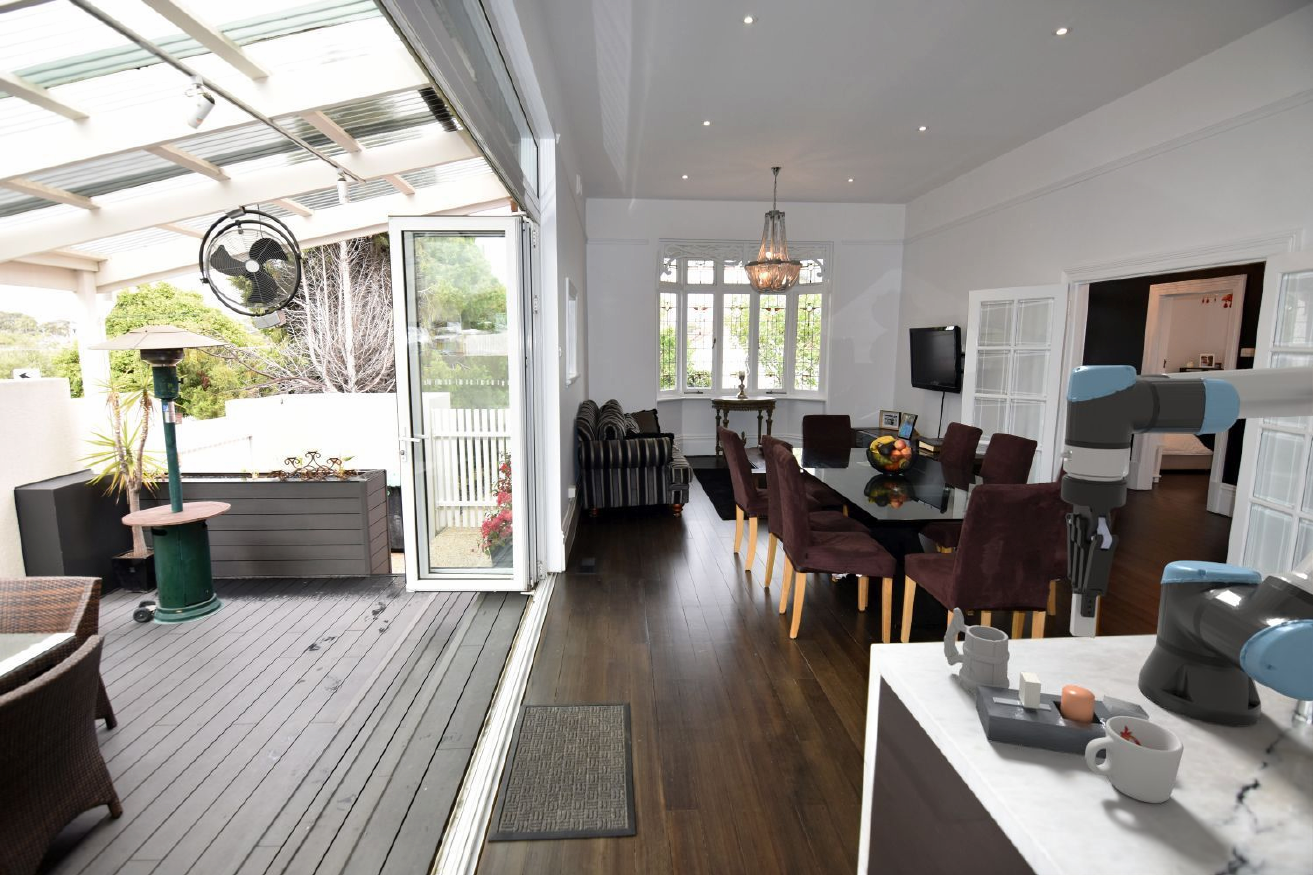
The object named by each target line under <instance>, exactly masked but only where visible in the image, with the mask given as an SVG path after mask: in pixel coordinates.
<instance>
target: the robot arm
mask: <svg viewBox="0 0 1313 875" xmlns="http://www.w3.org/2000/svg"><path fill="white" fill-rule="evenodd" d="M1069 375H1070V376H1069V381H1068V386H1067V395H1066V396H1065V399H1066V417H1065V418H1066V420H1065V433H1064V434H1065V436H1064V437H1065V438H1064V450H1063V451H1060V452H1059V457H1060V458H1062V459H1063V464H1062V466H1063V467H1062V468H1063V471H1065V472H1066V474H1064V475H1062V476H1061V477H1062V478H1061V488H1060V498H1061V500H1062V501H1064V502H1066V503H1068V504H1071V505H1073V509H1072V511H1073V512H1071V513H1070V512H1066V514H1065V521H1066V522H1065V523H1066V529H1067V530H1066V531H1067V532H1066V533H1067V539H1066V540H1067V546H1066V547H1067V578H1068V580H1071V591H1072V592H1071V593H1072V595H1071V596H1072V598H1071V613H1070V623H1069V625H1070V626H1069V632H1070V633H1071V636H1074V637H1080V638H1082V637H1083V638H1091V639H1095V638H1096V630H1097V628H1096V627H1097V618H1098V617H1097V616H1098V603H1099V597H1106V595H1107V591H1108V586H1109V579H1110V575H1111V569H1112V566H1113V565H1112V564H1113V561H1114V554H1115V550H1117V549H1116V548H1117V547H1118V544H1119V542H1120V541H1119V536H1118V535H1117V534H1111V532H1112V530H1113V521H1112V519H1111V513H1110V511H1111V510H1112V509H1114V508H1116V509H1118V508H1120V507H1123V506H1124V505H1125V504H1126V503H1127V488H1128V482H1127V480H1126V479H1125V478H1124V477H1126V476H1128V475H1129V471H1130V462H1131V459H1130V458H1131V440H1132V434H1135V435H1143V434H1157V435H1158V434H1160V435H1161V434H1163V435H1164V434H1165V435H1167V434H1168V435H1169V434H1170V435H1171V434H1173V435H1176V434H1177V435H1195V436H1201V435H1203V434H1204V435H1206V434H1220V433H1224V432H1227V431H1228V430H1229V429H1230V428H1232V426H1234V425H1235V423H1236V422H1237V420H1239V419H1240V420H1241V419H1267V418H1290V417H1291V418H1293V417H1313V365H1302V366H1301V365H1299V366H1282V367H1261V368H1247V369H1244V368H1242V369H1229V370H1228V369H1226V370H1225V369H1224V370H1223V369H1222V370H1209V371H1208V370H1207V371H1206V370H1205V371H1191V372H1190V371H1189V372H1188V371H1187V372H1172V373H1170V372H1169V373H1158V374H1156V373H1155V374H1153V373H1151V374H1137V370H1136V368H1135V367H1134V366H1132V365H1121V364H1120V365H1080V366H1076V367H1075V368H1074V369H1072V371H1071V373H1070V374H1069ZM1262 577H1263V576H1262V574H1261V573H1260V572H1259V571H1257V570H1255V569H1253V568H1249V567H1246V566H1245V567H1244V566H1239V565H1234V564H1230V563H1228V564H1227V563H1223V562H1222V563H1220V562H1219V563H1218V562H1213V561H1202V560H1178V561H1177V560H1176V561H1172V562H1169V563H1167V565H1166V566H1165V567H1164V570H1163V574H1162V578H1161V581H1160V585H1161V589H1160V601H1159V608H1158V619H1157V620H1158V621H1157V628H1156V629H1157V630H1156V638H1155V639H1156V640H1155V641H1156V642H1155V645H1154V647H1153V649H1152V650H1151V652H1150V654H1149V655H1148V657H1147V659H1146V660H1145V662H1144V664H1143V665H1142V667H1141V668H1140V671H1139V672H1138V673H1139V675H1138V682H1137V683H1138V689H1139V690H1140V692H1141V693H1142V694H1143V695H1145V697H1146V698H1148V699H1149V700H1150V701H1152V702H1153V703H1155V704H1157V705H1159V706H1160V707H1163V708H1164V709H1166V710H1169V711H1171V712H1174V713H1175V714H1178V715H1181V716H1184V717H1186V718H1190V719H1192V720H1197V721H1201V722H1204V723H1208V724H1214V725H1220V726H1227V727H1247V726H1253V725H1256V724H1257V723H1259V721H1260V719H1261V714H1262V701H1261V698H1260V695H1259V691H1258V688H1257V685H1256V683H1258V684H1260V685H1262V686H1264V687H1266V688H1268V689H1271V690H1273V691H1275V692H1276V693H1278V694H1280V695H1282V696H1284V697H1287V698H1290V699H1294V700H1297V701H1303V702H1304V701H1305V702H1313V549H1312V550H1311V551H1310V552H1309V553H1308V554H1307V555H1306V556H1305V557H1304V558H1303V559H1302V560H1301V561H1300V562H1299V563H1298V564H1297V565H1296V566H1295V568H1294V569H1293V570H1292V571H1289V572H1288V571H1287V572H1280V573H1279V572H1278V573H1275V572H1274V573H1270V574H1268V576H1266V577H1265V578H1264V579H1263V578H1262Z"/></svg>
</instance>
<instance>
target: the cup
mask: <svg viewBox="0 0 1313 875" xmlns="http://www.w3.org/2000/svg"><path fill="white" fill-rule="evenodd" d="M1105 731H1106V737H1105V738H1098V739H1094V740H1092V741H1091V742H1089V743H1088V745H1087V747H1086V751H1085V756H1084V757H1085V761H1086V764H1087V766H1088V767H1089V769H1090V770H1091V771H1092V772H1094V773H1095V774H1098V775H1100V776H1101V775H1102V776H1108V779H1109V781H1110V783H1112V785H1113V786H1114V788H1116V789H1117V790H1118V791H1120V792H1121V793H1123V794H1124V795H1126V796H1129V798H1133V799H1135V800H1138V801H1141V802H1144V803H1150V804H1160V803H1163V802H1166V801H1168V800H1169V798H1170V797H1171V795H1172V793H1173V790H1174V787H1175V784H1176V779H1177V776H1178V772H1179V769H1180V764H1181V762H1182V761H1181V760H1182V757H1183V753H1184V743H1183V742H1182V739H1180V738H1179V736H1177V735H1176V734H1175V733H1174V732H1172V731H1171V730H1169V729H1168V728H1166V727H1164V726H1162V725H1159V724H1157V723H1156V722H1152V721H1150V720H1148V721H1147V720H1143V719H1139V718H1135V717H1128V716H1117V717H1112V718H1110V719H1108V720H1107V722H1106V725H1105ZM1100 749H1106V759H1105V760H1104V762H1103V763H1102V764H1099V765H1098V764H1096V757H1095V756H1096V754H1097V752H1098V751H1099V750H1100Z"/></svg>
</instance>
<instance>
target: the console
mask: <svg viewBox="0 0 1313 875" xmlns="http://www.w3.org/2000/svg"><path fill="white" fill-rule="evenodd" d="M975 697H976V699H975V710H976V712H977V715H978V717H979V720H980V724H981V726H982V729H983V731H984V734H985V736H986V739H987V741H989V742H995V743H1002V744H1008V745H1014V746H1021V747H1027V748H1028V747H1029V748H1034V749H1039V750H1040V749H1041V750H1047V751H1053V752H1061V753H1066V754H1071V755H1072V754H1073V755H1077V756H1084V757H1085V751H1086V747H1087V745H1088V743H1089V742H1091V741H1092V740H1094V739H1098V738H1105V737H1106V731H1105V725H1106V722H1107V720H1108V719H1110V718H1112V717H1117V716H1119V715H1115V714H1112V713H1110V712H1109V711H1108V709H1107V708H1106V707H1105V705H1104V704H1103V703H1102V701H1103V700H1099V699H1097V700H1096V699H1095V702H1094V713H1093V723H1089V722H1082V721H1075V720H1068V719H1063V718H1062V716H1061V715H1060V710H1061V698H1062V694H1061V695H1059V694H1052V693H1043V692H1040V704H1039V709H1037V708H1030V707H1024V706H1023V704H1022V702H1021V700H1020V698H1019V689H1015V688H1001V687H993V686H986V685H978V684H977V696H975ZM1095 758H1097V759H1105V760H1106V749H1100V750H1099V751H1098V752H1097V754H1096V756H1095Z"/></svg>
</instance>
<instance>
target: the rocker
mask: <svg viewBox="0 0 1313 875" xmlns="http://www.w3.org/2000/svg"><path fill="white" fill-rule="evenodd" d="M1101 701H1102V703H1103V704H1104V705H1105V707H1106V708H1107V709H1108V711H1109V712H1110V713H1112V714H1115V715H1119V716H1128V717H1135V718H1139V719H1143V720H1147V721H1149V720H1150V715H1149V714H1148V713H1147V712H1146V711H1145V710H1144V708H1143V707H1142V706H1141V704H1137V703H1133V702H1129V701H1125V700H1123V699H1118V698H1115V697H1112V696H1107V695H1104V696H1103V699H1102V700H1101Z"/></svg>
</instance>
